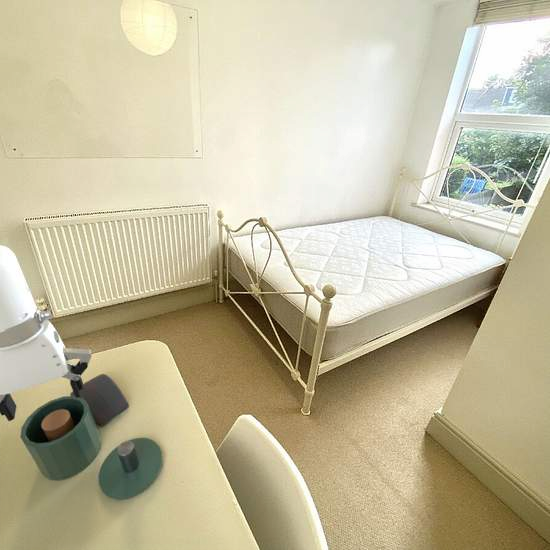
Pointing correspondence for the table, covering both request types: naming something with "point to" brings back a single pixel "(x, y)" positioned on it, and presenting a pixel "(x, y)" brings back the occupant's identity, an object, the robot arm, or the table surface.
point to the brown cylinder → (57, 424)
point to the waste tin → (62, 439)
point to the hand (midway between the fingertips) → (47, 402)
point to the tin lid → (130, 468)
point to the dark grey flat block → (103, 398)
